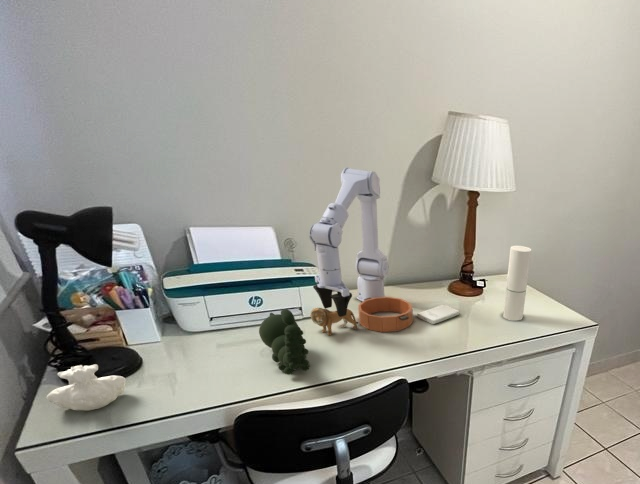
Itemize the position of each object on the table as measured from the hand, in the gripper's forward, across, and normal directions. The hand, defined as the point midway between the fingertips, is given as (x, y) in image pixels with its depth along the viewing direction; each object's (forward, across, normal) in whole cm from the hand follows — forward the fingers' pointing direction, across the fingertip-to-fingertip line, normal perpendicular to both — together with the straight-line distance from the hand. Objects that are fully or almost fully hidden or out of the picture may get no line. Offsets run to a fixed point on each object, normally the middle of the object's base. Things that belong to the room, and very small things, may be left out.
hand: (335, 311), depth 124 cm
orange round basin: (+6, +3, +16) cm, 17 cm away
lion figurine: (+7, 0, 0) cm, 7 cm away
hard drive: (+7, +11, +32) cm, 34 cm away
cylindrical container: (+7, +28, +53) cm, 60 cm away
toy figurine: (+7, +8, -19) cm, 22 cm away
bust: (+6, 0, -56) cm, 56 cm away
